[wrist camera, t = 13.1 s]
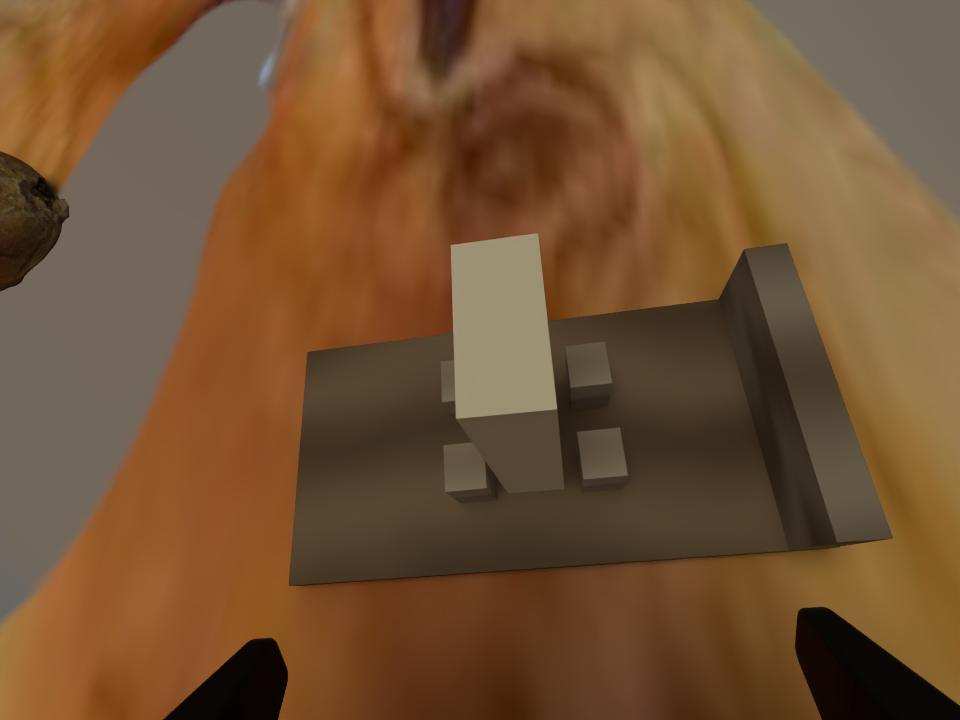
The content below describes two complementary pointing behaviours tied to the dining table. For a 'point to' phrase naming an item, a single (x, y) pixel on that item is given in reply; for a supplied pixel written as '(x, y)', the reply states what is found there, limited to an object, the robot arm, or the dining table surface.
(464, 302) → the rectangular block
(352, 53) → the dining table surface
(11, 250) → the brown rough lump
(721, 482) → the stand
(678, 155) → the dining table surface
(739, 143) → the dining table surface
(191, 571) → the dining table surface
